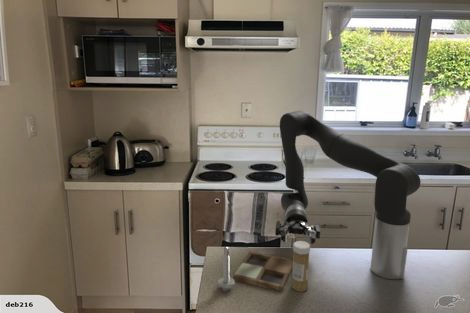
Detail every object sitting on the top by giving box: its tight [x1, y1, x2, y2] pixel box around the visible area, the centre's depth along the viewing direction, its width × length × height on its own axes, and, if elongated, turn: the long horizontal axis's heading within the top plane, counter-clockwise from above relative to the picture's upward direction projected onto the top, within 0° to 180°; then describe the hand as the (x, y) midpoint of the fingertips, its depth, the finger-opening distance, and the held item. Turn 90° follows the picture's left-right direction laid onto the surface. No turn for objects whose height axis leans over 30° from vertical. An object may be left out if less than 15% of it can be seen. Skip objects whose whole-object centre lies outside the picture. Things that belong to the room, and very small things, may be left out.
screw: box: [217, 246, 236, 292], centre depth 95 cm, size 13×5×5 cm
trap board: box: [232, 251, 293, 293], centre depth 104 cm, size 15×15×2 cm
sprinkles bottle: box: [291, 240, 311, 292], centre depth 95 cm, size 5×5×14 cm
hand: (298, 240), depth 105 cm, fingers open, 8 cm apart
